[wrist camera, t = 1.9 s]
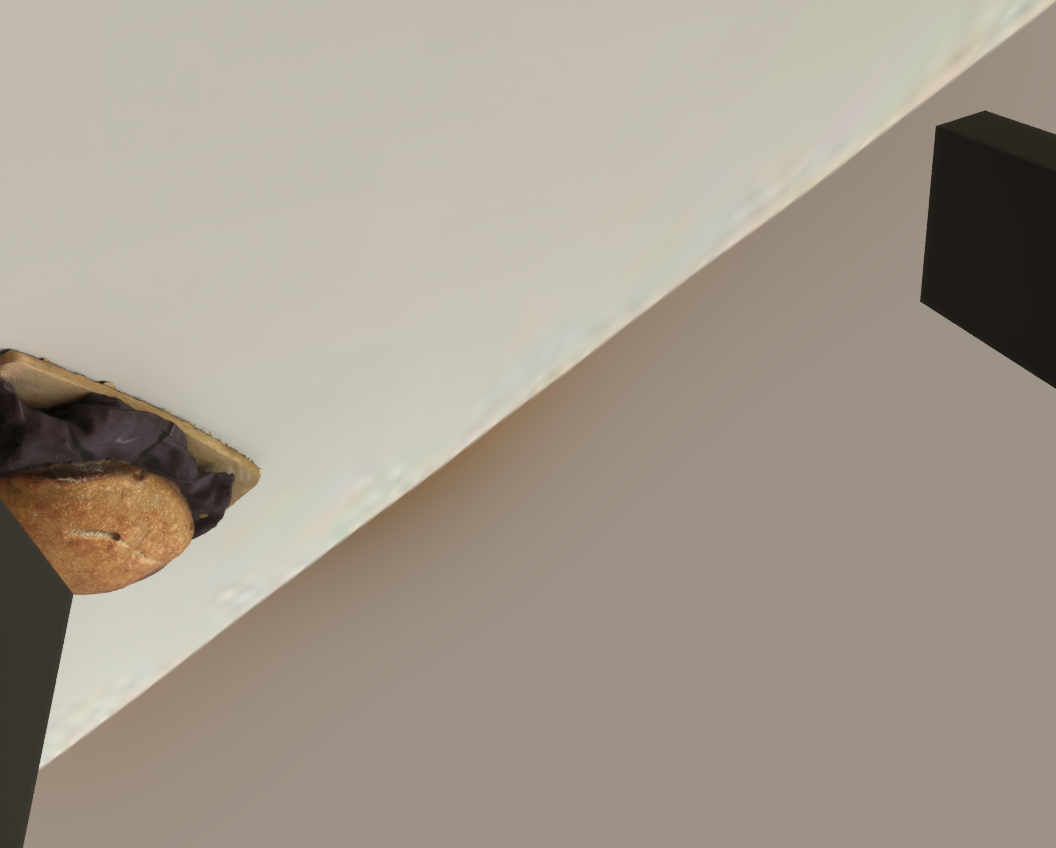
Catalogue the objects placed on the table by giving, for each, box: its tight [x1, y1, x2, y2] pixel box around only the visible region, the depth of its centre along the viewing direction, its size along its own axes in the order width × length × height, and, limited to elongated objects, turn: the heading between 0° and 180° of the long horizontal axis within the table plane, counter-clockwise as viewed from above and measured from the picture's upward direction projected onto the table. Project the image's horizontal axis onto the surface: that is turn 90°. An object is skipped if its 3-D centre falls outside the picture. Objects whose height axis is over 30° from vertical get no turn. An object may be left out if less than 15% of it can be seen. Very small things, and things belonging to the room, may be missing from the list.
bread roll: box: [0, 350, 261, 595], centre depth 28 cm, size 11×8×4 cm
